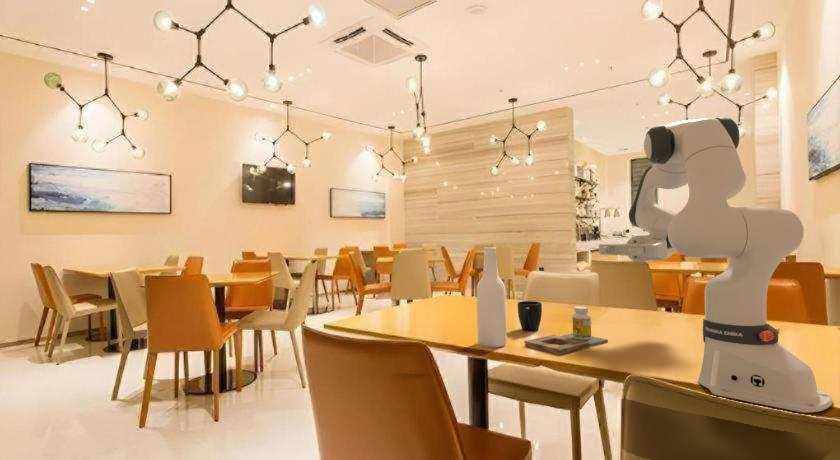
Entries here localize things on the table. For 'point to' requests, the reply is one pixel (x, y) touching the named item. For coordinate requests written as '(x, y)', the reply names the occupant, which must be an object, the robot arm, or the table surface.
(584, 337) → the supplement bottle
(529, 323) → the mug
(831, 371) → the table surface
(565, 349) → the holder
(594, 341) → the mat
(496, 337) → the alcohol
